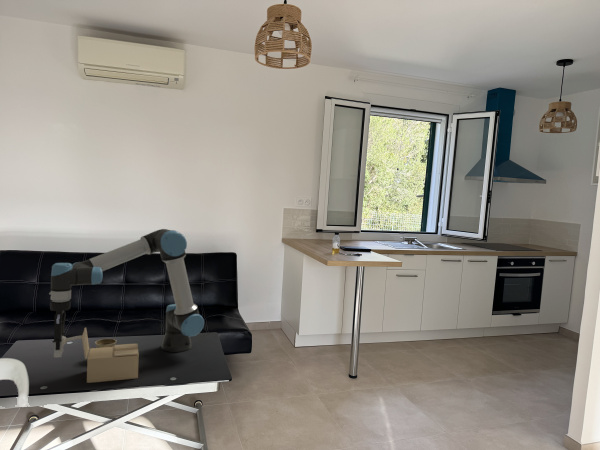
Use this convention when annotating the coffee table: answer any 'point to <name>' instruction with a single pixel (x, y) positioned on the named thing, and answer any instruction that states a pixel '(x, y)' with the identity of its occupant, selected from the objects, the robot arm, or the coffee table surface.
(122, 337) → the coffee table surface
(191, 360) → the coffee table surface
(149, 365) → the coffee table surface
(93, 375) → the carton
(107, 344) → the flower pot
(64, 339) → the flap
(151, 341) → the coffee table surface
